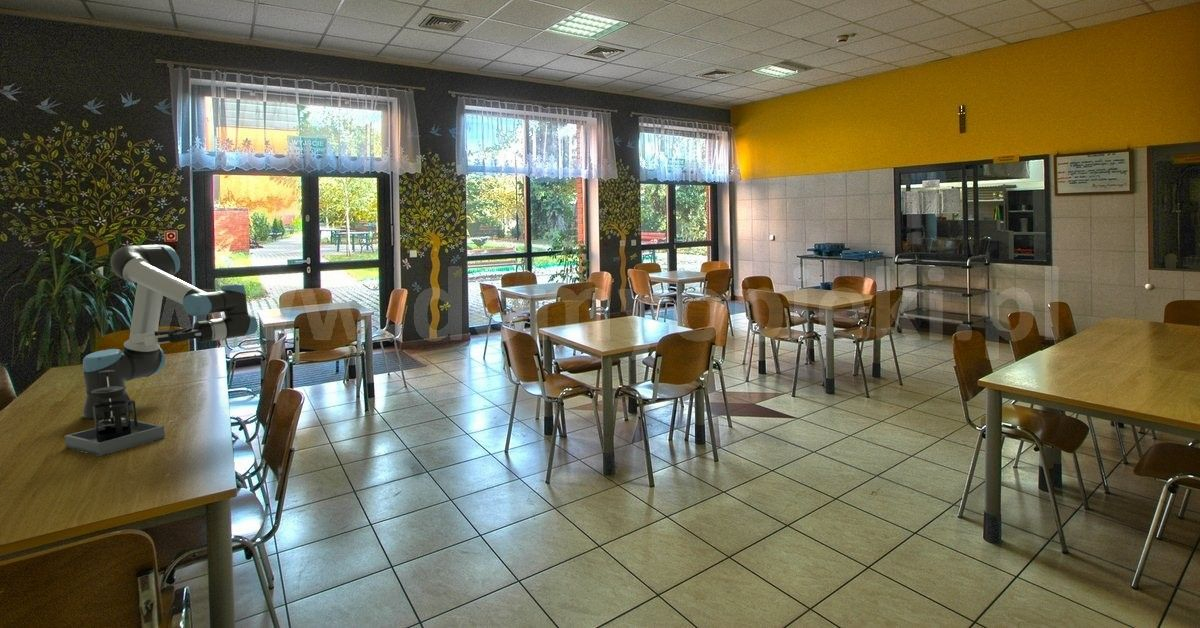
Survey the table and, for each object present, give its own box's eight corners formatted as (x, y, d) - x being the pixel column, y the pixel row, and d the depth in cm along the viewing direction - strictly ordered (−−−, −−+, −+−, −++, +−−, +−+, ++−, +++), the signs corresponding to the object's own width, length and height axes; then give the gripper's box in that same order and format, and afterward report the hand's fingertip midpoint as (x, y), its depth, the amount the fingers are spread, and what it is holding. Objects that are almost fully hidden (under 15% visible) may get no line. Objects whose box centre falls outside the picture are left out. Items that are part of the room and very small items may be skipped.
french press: (100, 447, 197) (92, 375, 194) (88, 442, 202) (80, 372, 199) (143, 437, 207) (136, 368, 204) (131, 432, 212) (123, 365, 209)
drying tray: (66, 447, 200) (64, 435, 200) (131, 430, 217) (130, 419, 217) (99, 456, 192) (98, 444, 192) (165, 437, 209) (163, 426, 209)
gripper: (224, 343, 218) (152, 354, 202) (197, 339, 234) (128, 349, 217) (221, 321, 217) (149, 331, 201) (194, 318, 233) (125, 327, 216)
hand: (138, 340), depth 209 cm, fingers open, 13 cm apart
